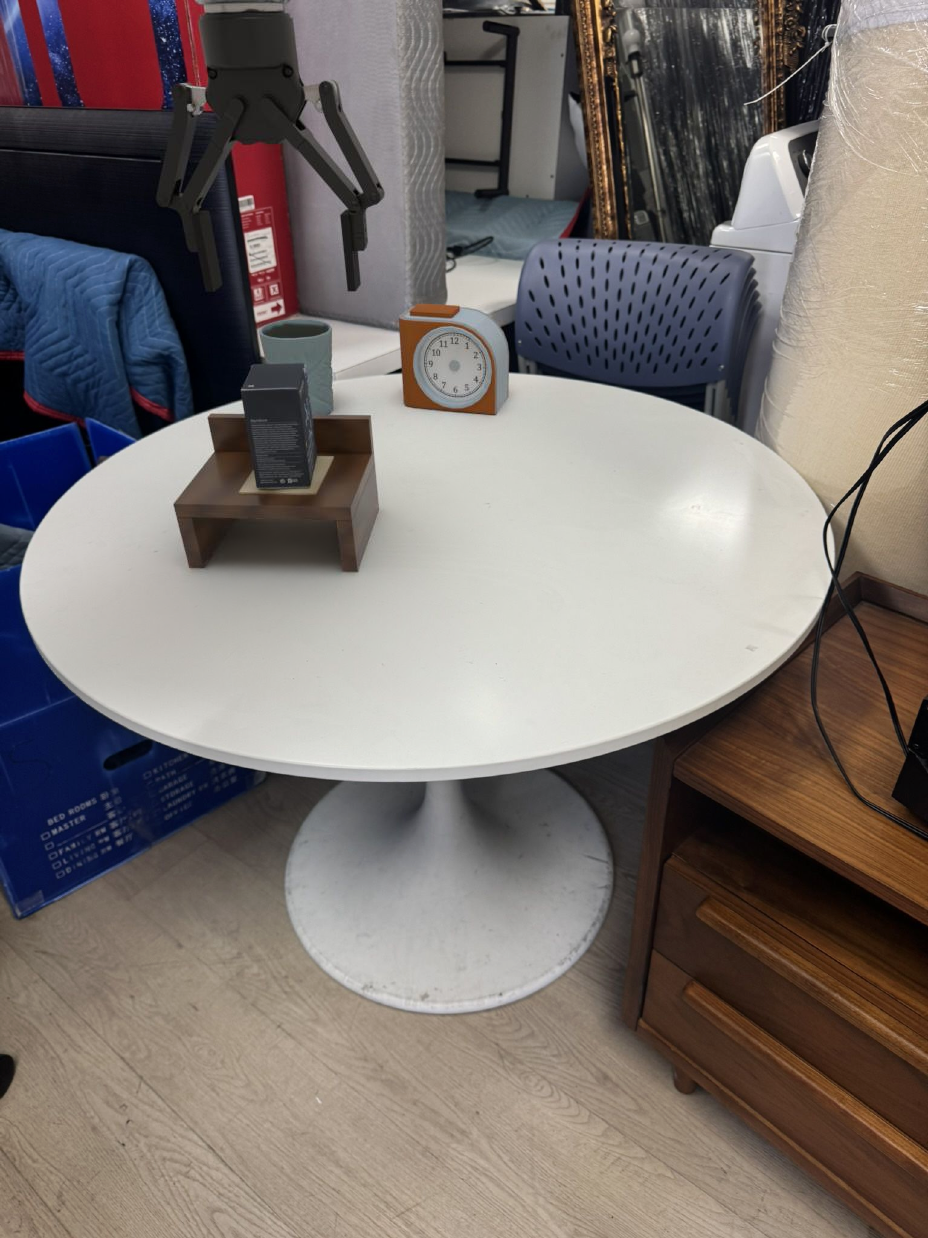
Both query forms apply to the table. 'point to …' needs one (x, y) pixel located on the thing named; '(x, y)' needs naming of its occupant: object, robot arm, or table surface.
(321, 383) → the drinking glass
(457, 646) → the table surface
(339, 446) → the shelf
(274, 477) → the box
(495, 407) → the alarm clock
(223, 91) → the robot arm
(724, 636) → the table surface
